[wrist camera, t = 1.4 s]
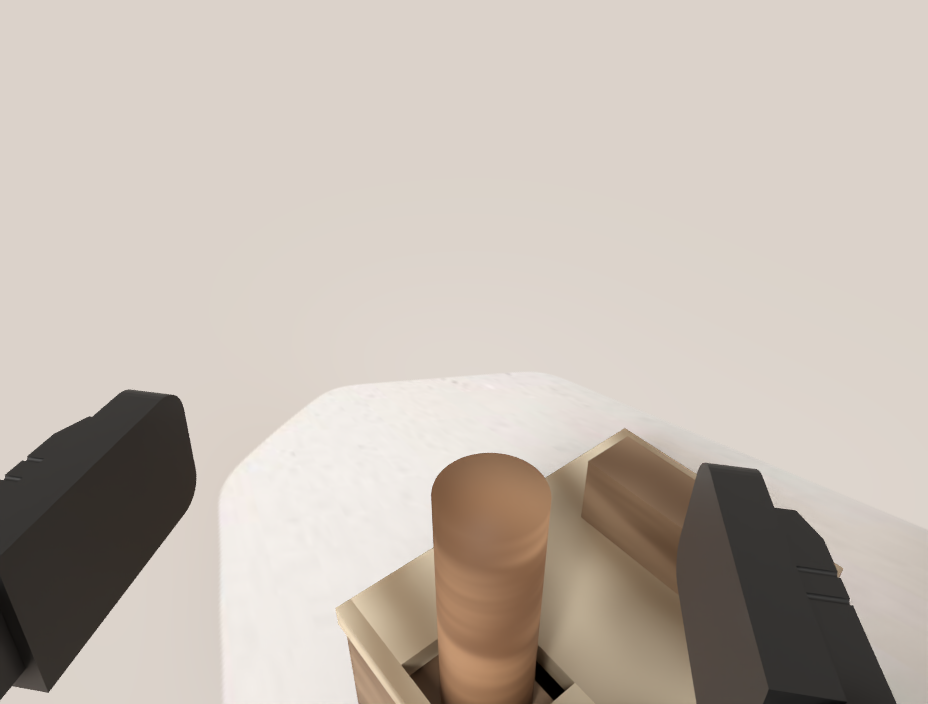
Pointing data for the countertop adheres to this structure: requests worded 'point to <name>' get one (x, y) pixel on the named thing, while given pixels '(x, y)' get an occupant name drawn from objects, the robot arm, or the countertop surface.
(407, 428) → the countertop surface
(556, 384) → the countertop surface
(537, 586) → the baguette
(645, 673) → the lid
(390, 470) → the countertop surface
